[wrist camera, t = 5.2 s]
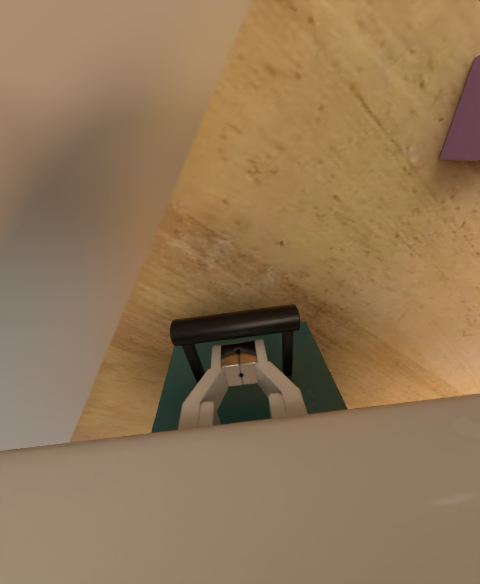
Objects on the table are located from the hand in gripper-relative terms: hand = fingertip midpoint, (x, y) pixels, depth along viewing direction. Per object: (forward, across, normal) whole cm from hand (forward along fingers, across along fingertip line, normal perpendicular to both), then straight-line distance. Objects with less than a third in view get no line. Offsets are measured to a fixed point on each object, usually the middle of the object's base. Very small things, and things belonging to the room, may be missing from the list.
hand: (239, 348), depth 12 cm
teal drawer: (+5, 0, +7) cm, 9 cm away
